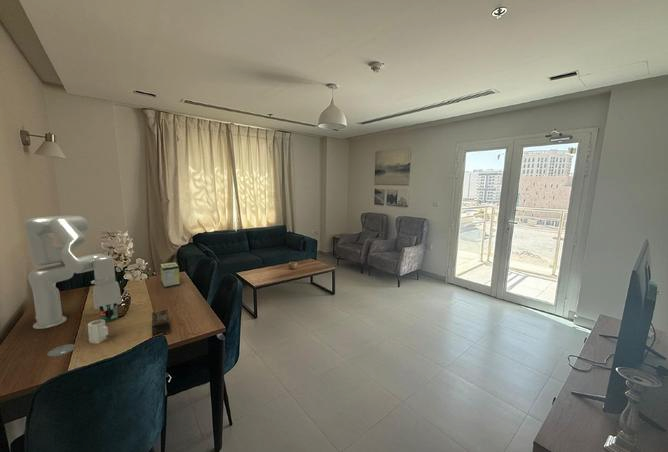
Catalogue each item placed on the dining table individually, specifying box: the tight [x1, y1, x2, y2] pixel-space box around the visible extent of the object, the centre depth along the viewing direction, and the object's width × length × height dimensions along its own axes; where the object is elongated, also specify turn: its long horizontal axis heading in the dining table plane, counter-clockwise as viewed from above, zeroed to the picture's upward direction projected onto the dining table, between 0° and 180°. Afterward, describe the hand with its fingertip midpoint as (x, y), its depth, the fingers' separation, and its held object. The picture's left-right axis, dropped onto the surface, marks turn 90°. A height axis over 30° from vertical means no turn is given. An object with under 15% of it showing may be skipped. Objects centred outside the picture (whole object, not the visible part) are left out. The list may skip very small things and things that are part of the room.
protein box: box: [159, 261, 181, 289], centre depth 208 cm, size 10×16×16 cm
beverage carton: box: [151, 309, 171, 338], centre depth 145 cm, size 8×19×7 cm, turn 34°
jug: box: [87, 318, 109, 343], centre depth 130 cm, size 6×9×9 cm, turn 76°
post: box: [86, 334, 110, 346], centre depth 131 cm, size 8×8×7 cm
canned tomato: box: [99, 305, 119, 324], centre depth 151 cm, size 8×8×11 cm
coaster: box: [47, 343, 76, 358], centre depth 122 cm, size 9×9×1 cm
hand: (109, 317), depth 132 cm, fingers closed
